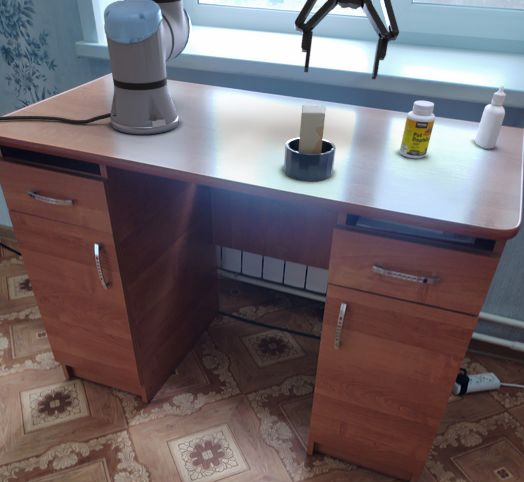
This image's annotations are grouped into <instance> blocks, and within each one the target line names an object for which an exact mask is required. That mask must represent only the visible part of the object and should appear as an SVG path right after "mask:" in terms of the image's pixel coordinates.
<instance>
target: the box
mask: <svg viewBox="0 0 524 482" xmlns="http://www.w3.org/2000/svg"><path fill="white" fill-rule="evenodd" d="M325 118H326V106H325V105H314V104H302V106H301V114H300V128H299V138H300V139H299V152H300V153H306V154H321V149H322V139H324V138H323V137H324V130H325V129H324V128H325V121H326V119H325Z"/></svg>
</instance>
